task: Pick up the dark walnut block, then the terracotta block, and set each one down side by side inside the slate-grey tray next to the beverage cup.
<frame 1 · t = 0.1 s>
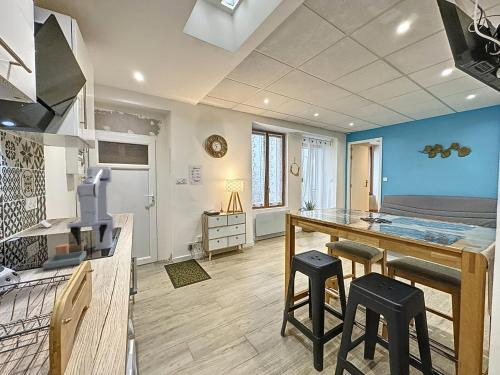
hand: (90, 243, 90), 10 cm above the worktop, tool pointing down, fingers open, 7 cm apart
walnut block: (75, 256, 102), on the worktop
terracotta block: (63, 255, 103), on the worktop
slate tray: (66, 263, 93), on the worktop
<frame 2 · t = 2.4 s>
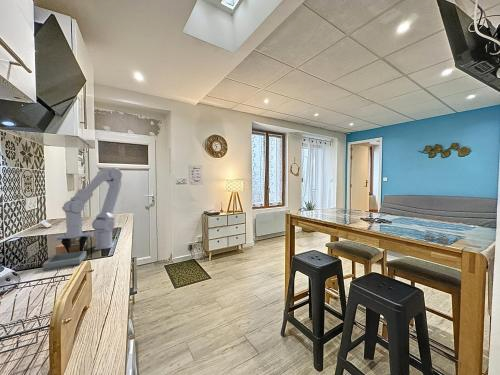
hand: (75, 253, 102), 1 cm above the worktop, tool pointing down, fingers closed on walnut block, 4 cm apart
walnut block: (75, 255, 102), on the worktop, touching gripper
everything else where it was.
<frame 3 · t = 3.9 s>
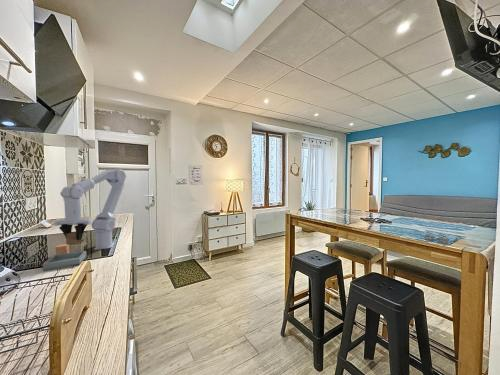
hand: (74, 239, 100), 8 cm above the worktop, tool pointing down, fingers closed on walnut block, 4 cm apart
walnut block: (74, 242, 100), point 7 cm above the worktop, touching gripper
everything else where it was.
when the fingers open (3 cm above the worktop, at t = 5.6 s): walnut block drops 1 cm, resting on slate tray.
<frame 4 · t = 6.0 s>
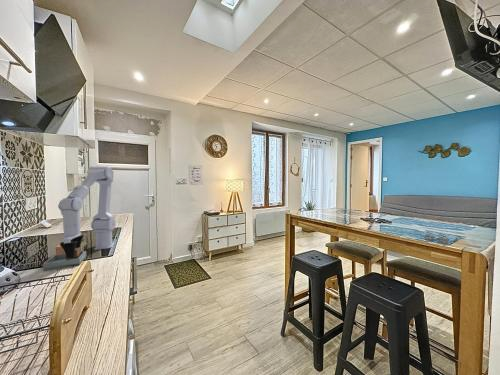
hand: (73, 254, 94), 3 cm above the worktop, tool pointing down, fingers open, 7 cm apart
walnut block: (73, 260, 94), point 1 cm above the worktop, touching slate tray
everything else where it was.
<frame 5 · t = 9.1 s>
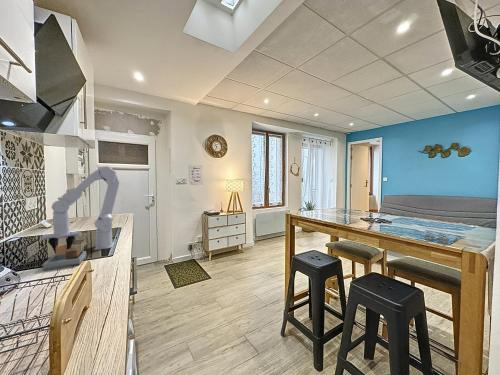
hand: (62, 252, 103), 1 cm above the worktop, tool pointing down, fingers closed on terracotta block, 4 cm apart
terracotta block: (63, 255, 103), on the worktop, touching gripper
everything else where it was.
when the fingers open (3 cm above the worktop, at t = 12.5 s): terracotta block drops 1 cm, resting on slate tray.
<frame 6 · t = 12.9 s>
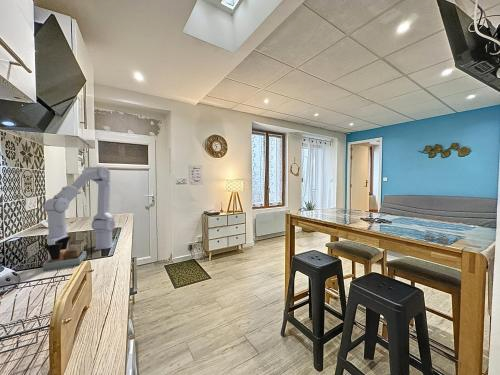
hand: (58, 256, 92), 3 cm above the worktop, tool pointing down, fingers open, 7 cm apart
terracotta block: (59, 262, 92), point 1 cm above the worktop, touching slate tray
everything else where it was.
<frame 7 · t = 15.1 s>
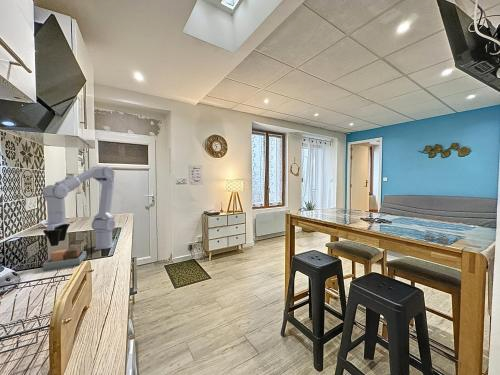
hand: (58, 243, 92), 9 cm above the worktop, tool pointing down, fingers open, 7 cm apart
nothing on the worktop moved.
at the end: walnut block inside the target area on the slate tray (2.5 cm from its centre), point 0.8 cm above the slate tray's base; terracotta block inside the target area on the slate tray (2.5 cm from its centre), point 0.8 cm above the slate tray's base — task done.
